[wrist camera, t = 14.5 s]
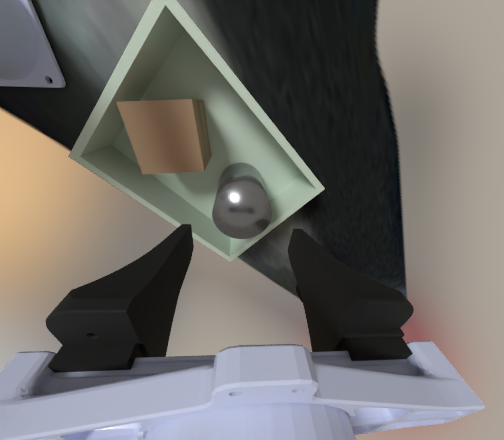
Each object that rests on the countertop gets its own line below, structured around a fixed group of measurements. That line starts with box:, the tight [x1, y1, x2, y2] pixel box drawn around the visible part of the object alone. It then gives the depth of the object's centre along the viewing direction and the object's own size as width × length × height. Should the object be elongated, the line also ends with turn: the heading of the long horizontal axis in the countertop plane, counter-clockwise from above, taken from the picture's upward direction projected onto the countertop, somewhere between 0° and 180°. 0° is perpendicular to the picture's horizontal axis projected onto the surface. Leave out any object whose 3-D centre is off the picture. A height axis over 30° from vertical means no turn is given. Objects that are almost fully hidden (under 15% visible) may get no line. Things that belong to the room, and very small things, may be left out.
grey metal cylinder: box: [212, 163, 272, 239], centre depth 18 cm, size 5×5×7 cm
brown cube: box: [116, 99, 212, 175], centre depth 16 cm, size 5×5×5 cm
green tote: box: [69, 0, 325, 262], centre depth 18 cm, size 17×13×5 cm
